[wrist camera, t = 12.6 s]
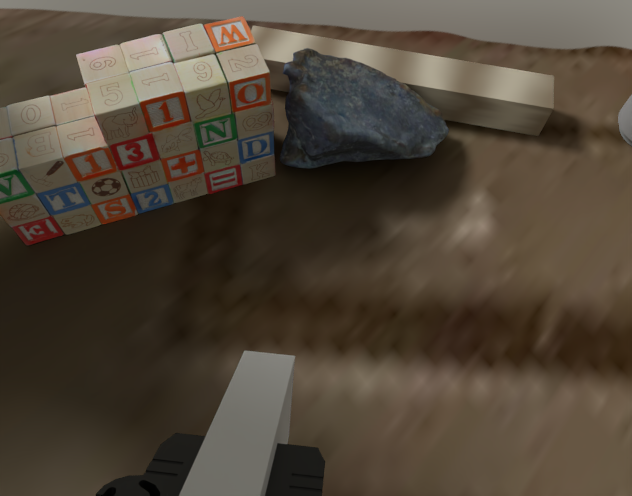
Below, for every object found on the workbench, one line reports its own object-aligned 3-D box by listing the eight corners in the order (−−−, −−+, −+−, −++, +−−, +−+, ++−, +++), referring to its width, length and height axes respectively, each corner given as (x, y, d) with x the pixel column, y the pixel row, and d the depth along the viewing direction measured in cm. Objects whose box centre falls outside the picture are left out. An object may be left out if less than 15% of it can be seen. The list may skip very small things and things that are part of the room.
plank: (245, 87, 56) (241, 55, 52) (256, 58, 58) (253, 25, 54) (537, 138, 53) (553, 108, 50) (538, 106, 55) (554, 75, 52)
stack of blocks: (26, 249, 46) (-57, 153, 36) (16, 189, 49) (-64, 83, 38) (277, 175, 50) (271, 69, 40) (255, 124, 53) (244, 11, 42)
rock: (264, 100, 55) (243, 170, 48) (295, 27, 49) (276, 95, 42) (408, 160, 58) (407, 233, 52) (453, 99, 52) (458, 172, 46)
